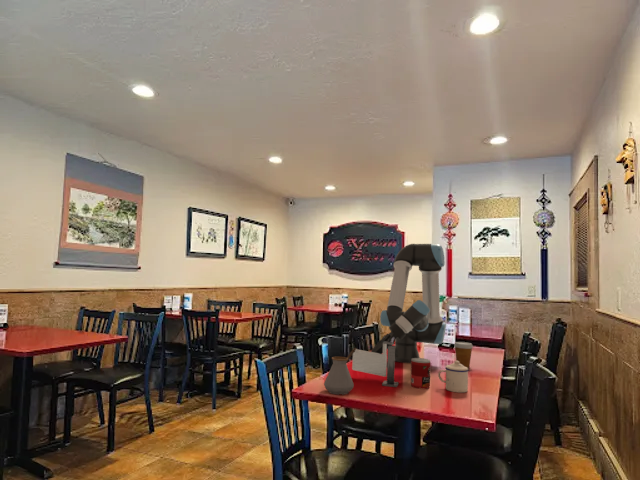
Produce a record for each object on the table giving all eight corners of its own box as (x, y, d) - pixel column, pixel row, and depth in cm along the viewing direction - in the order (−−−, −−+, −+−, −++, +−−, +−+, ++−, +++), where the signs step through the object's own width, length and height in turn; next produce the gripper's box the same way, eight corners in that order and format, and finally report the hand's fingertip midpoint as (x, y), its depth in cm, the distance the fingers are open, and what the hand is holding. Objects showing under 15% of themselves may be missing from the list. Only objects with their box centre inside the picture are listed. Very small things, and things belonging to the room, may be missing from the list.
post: (384, 382, 188) (385, 344, 190) (398, 384, 187) (399, 345, 188) (382, 385, 183) (383, 346, 184) (396, 387, 181) (397, 347, 182)
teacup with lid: (470, 389, 182) (470, 360, 183) (466, 394, 174) (466, 364, 175) (440, 385, 188) (441, 357, 189) (435, 389, 180) (436, 360, 181)
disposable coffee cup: (449, 365, 234) (450, 342, 235) (463, 364, 238) (463, 341, 239) (462, 368, 226) (462, 344, 227) (476, 367, 230) (477, 344, 231)
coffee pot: (345, 397, 162) (347, 356, 163) (318, 392, 167) (319, 352, 169) (367, 386, 181) (369, 349, 182) (342, 382, 186) (343, 345, 187)
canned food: (425, 389, 179) (426, 362, 179) (407, 386, 183) (408, 359, 184) (433, 386, 185) (433, 359, 186) (415, 383, 189) (415, 357, 190)
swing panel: (392, 377, 185) (393, 342, 186) (390, 378, 184) (391, 342, 185) (354, 369, 198) (355, 336, 199) (351, 369, 197) (353, 337, 198)
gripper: (410, 336, 193) (371, 374, 190) (402, 332, 206) (366, 368, 203) (398, 323, 193) (359, 361, 190) (391, 320, 206) (355, 356, 203)
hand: (362, 364), depth 197 cm, fingers closed
